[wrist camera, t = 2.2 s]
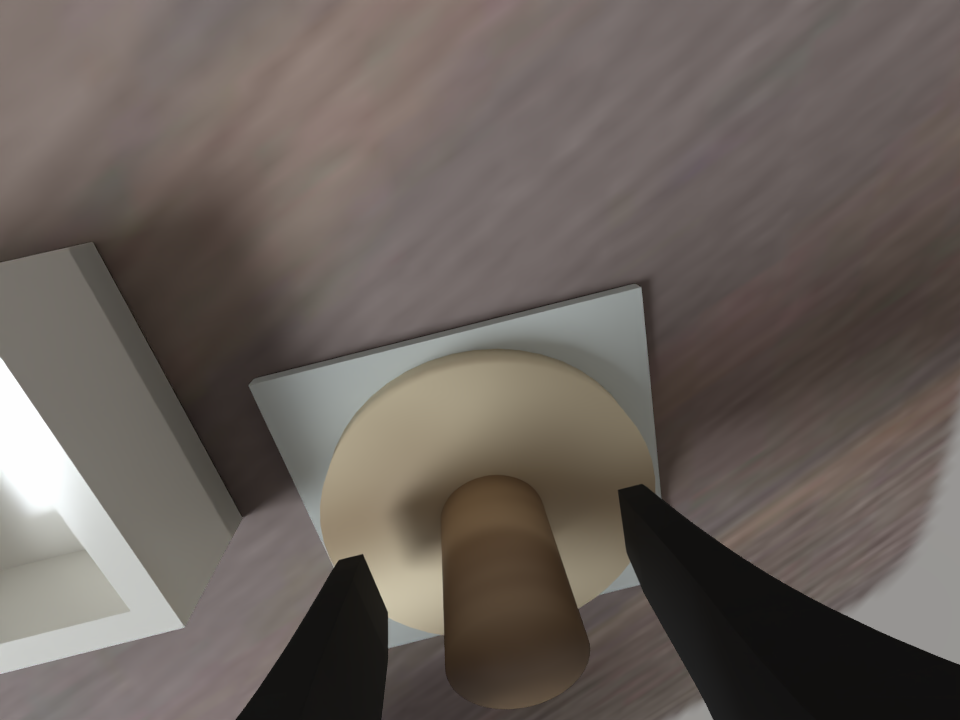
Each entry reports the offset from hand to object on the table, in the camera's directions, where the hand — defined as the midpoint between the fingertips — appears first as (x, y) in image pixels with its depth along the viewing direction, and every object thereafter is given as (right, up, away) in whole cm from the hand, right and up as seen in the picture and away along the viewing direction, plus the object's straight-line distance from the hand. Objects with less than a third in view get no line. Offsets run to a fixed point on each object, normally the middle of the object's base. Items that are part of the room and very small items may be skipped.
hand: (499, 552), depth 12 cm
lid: (0, +1, +2) cm, 2 cm away
